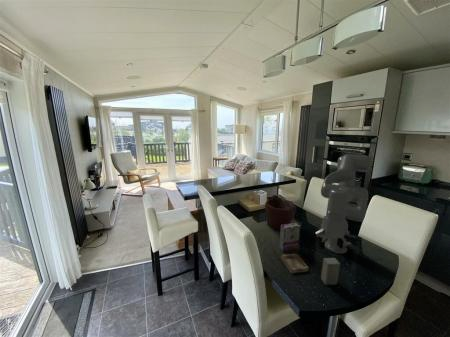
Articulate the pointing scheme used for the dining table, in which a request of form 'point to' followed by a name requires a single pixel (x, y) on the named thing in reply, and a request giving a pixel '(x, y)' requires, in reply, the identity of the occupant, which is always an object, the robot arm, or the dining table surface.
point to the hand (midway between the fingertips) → (330, 247)
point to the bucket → (279, 212)
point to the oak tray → (294, 263)
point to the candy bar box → (289, 237)
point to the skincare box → (330, 271)
